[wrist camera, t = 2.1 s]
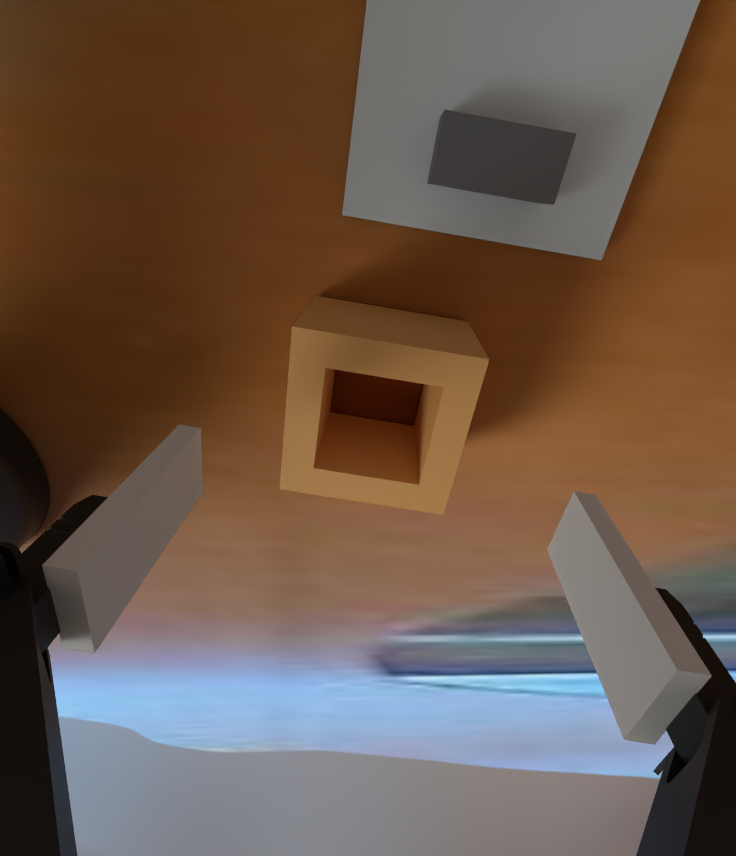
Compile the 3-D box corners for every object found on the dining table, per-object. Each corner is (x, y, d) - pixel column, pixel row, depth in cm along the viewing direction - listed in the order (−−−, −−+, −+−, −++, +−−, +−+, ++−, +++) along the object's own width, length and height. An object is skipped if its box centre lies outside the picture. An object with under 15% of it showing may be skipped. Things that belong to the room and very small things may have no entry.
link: (302, 430, 27) (279, 489, 21) (315, 295, 23) (291, 326, 18) (433, 451, 27) (443, 514, 22) (467, 321, 23) (489, 359, 18)
